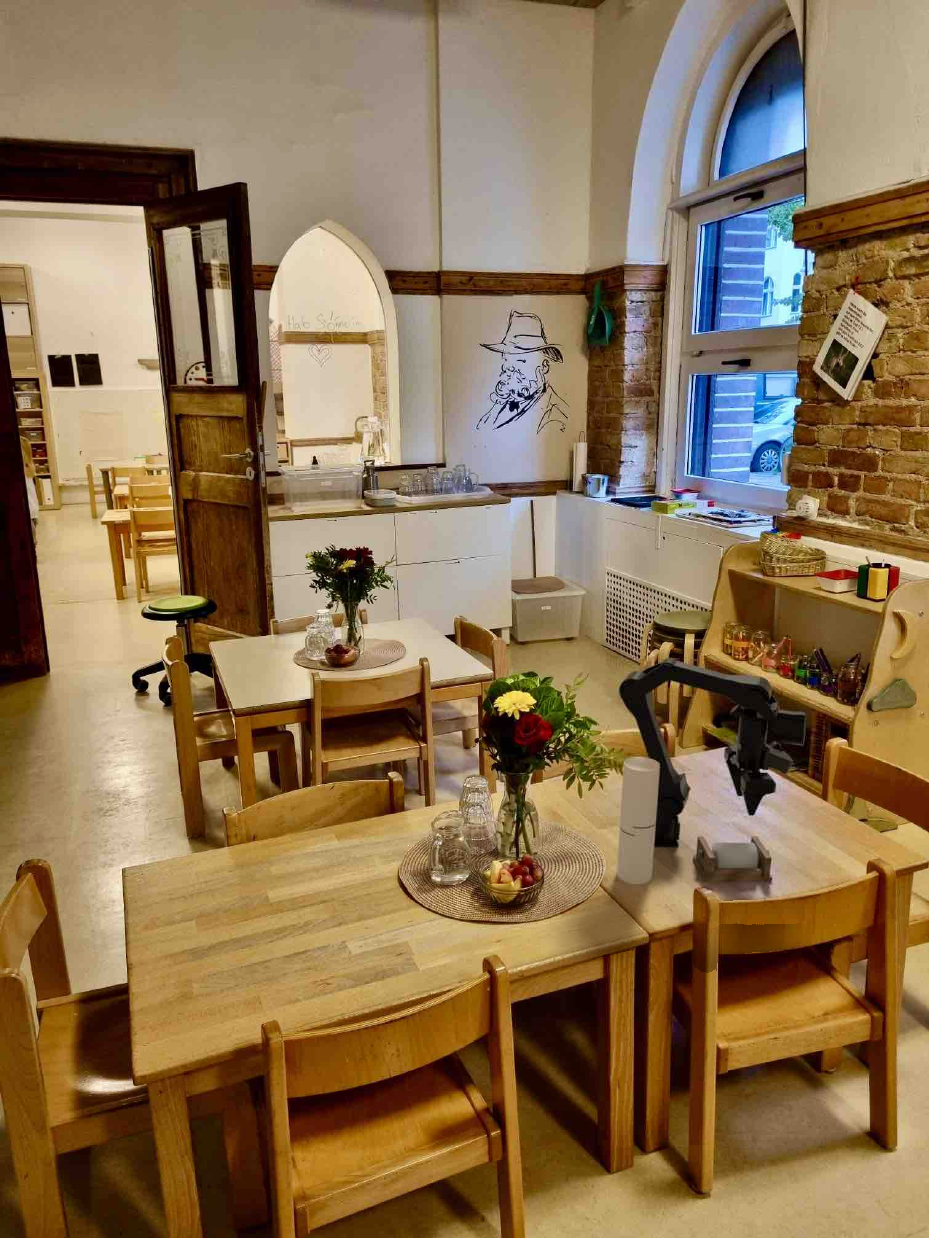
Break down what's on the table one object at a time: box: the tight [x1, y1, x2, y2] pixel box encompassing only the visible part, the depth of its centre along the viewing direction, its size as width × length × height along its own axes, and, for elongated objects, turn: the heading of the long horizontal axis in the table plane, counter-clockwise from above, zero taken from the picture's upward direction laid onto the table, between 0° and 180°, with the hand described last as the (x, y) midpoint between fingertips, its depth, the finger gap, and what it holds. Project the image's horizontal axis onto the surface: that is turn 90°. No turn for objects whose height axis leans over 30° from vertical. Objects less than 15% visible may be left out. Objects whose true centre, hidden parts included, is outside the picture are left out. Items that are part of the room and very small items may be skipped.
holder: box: [692, 835, 773, 883], centre depth 192 cm, size 15×9×6 cm, turn 91°
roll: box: [711, 842, 758, 869], centre depth 191 cm, size 9×6×6 cm, turn 91°
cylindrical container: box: [616, 756, 660, 885], centre depth 187 cm, size 7×7×25 cm
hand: (745, 805), depth 196 cm, fingers open, 9 cm apart
